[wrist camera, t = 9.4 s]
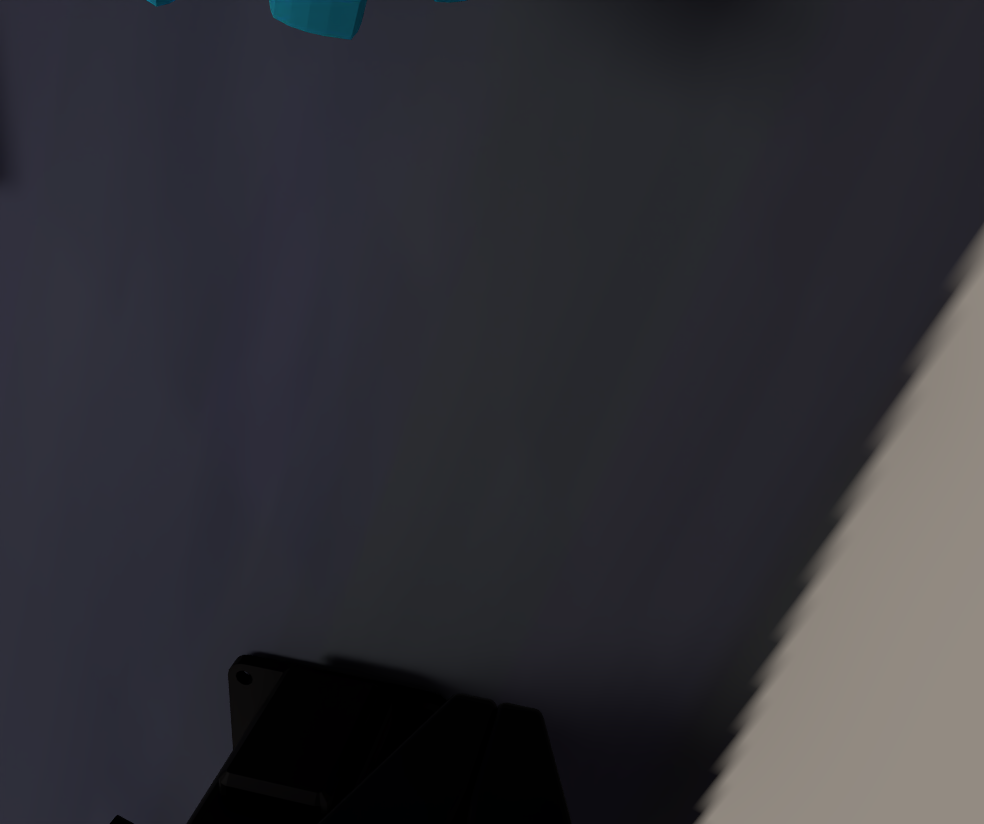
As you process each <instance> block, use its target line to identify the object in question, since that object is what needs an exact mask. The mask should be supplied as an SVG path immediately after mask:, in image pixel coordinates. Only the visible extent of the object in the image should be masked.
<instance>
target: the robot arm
mask: <svg viewBox="0 0 984 824" xmlns="http://www.w3.org/2000/svg"><path fill="white" fill-rule="evenodd" d="M244 671H246V672H248V673H249V674H250V675H248V674H246V673H245V672H244ZM228 681H229V696H230V711H231V725H232V740H233V751H232V753H231V754H230V756H229V757H228V759H227V760H226V762H225V764H224V765H223V767H222V768H221V770H220V772H219V773H218V775H217V776H216V778H215V779H214V781H213V783H212V784H211V786H210V787H209V789H208V790H207V792H206V794H205V795H204V797H203V798H202V800H201V802H200V803H199V805H198V806H197V808H196V809H195V811H194V813H193V814H192V816H191V817H190V819H189V820H188V822H187V824H572V823H571V819H570V815H569V812H568V808H567V804H566V800H565V797H564V793H563V789H562V785H561V782H560V778H559V774H558V770H557V767H556V763H555V759H554V755H553V752H552V748H551V744H550V740H549V737H548V733H547V729H546V725H545V722H544V718H543V716H542V714H541V712H540V711H539V710H537V709H534V708H530V707H525V706H520V705H515V704H510V703H502V704H500V705H499V706H498V708H497V706H496V704H495V702H494V701H493V700H490V699H485V698H480V697H475V696H470V695H466V694H456V695H454V696H452V697H451V698H450V699H449V700H448V701H446V699H445V698H443V697H442V696H441V695H439V694H436V693H433V692H428V691H423V690H418V689H413V688H409V687H404V686H399V685H394V684H389V683H384V682H379V681H374V680H369V679H365V678H360V677H355V676H350V675H345V674H340V673H335V672H330V671H325V670H321V669H316V668H311V667H306V666H301V665H296V664H291V663H286V662H281V661H277V660H272V659H267V658H262V657H257V656H252V655H242V656H239V657H238V658H237V659H236V660H235V662H234V663H233V665H232V666H231V667H230V669H229V672H228ZM426 709H430V710H432V711H434V712H435V713H430V712H428V711H427V710H426ZM110 824H134V823H132V822H130V821H128V820H126V819H125V818H123V817H121V816H119V815H117V816H116V817H115V818H114V819H113V820H112V822H111V823H110Z"/></svg>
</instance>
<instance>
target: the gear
mask: <svg viewBox="0 0 984 824" xmlns="http://www.w3.org/2000/svg"><path fill="white" fill-rule="evenodd" d="M147 1H148V2H150V3H152V4H153V5H155V6H156V7H157V6H161V5H165V4H169V3H171V2H173V1H175V0H147ZM434 1H435V2H449V3H450V2H459V1H466V0H434ZM269 2H270V9H271V12H272V15H273V17H274V18H275V19H277V20H279V21H281V22H283V23H285V24H287V25H288V26H291V27H294V28H297V29H299V30H302V31H305V32H309V33H313V34H318V35H322V36H328V37H335V38H343V39H350V40H351V39H352V38H353V37H354V35H355V34H356V33H357V32H358V30H359V27H360V25H361V22H362V18H363V14H364V10H365V6H366V2H367V0H269Z"/></svg>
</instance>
